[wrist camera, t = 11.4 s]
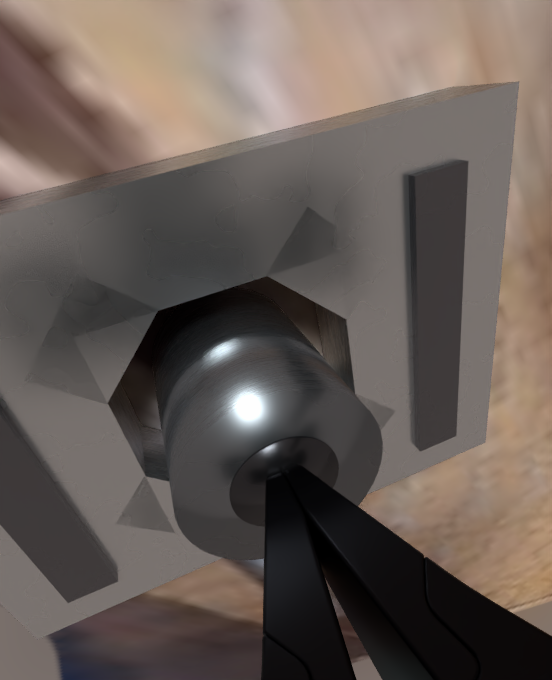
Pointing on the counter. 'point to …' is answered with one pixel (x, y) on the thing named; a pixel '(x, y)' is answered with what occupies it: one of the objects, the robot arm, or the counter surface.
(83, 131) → the counter surface
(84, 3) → the counter surface
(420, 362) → the jig
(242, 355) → the bushing
